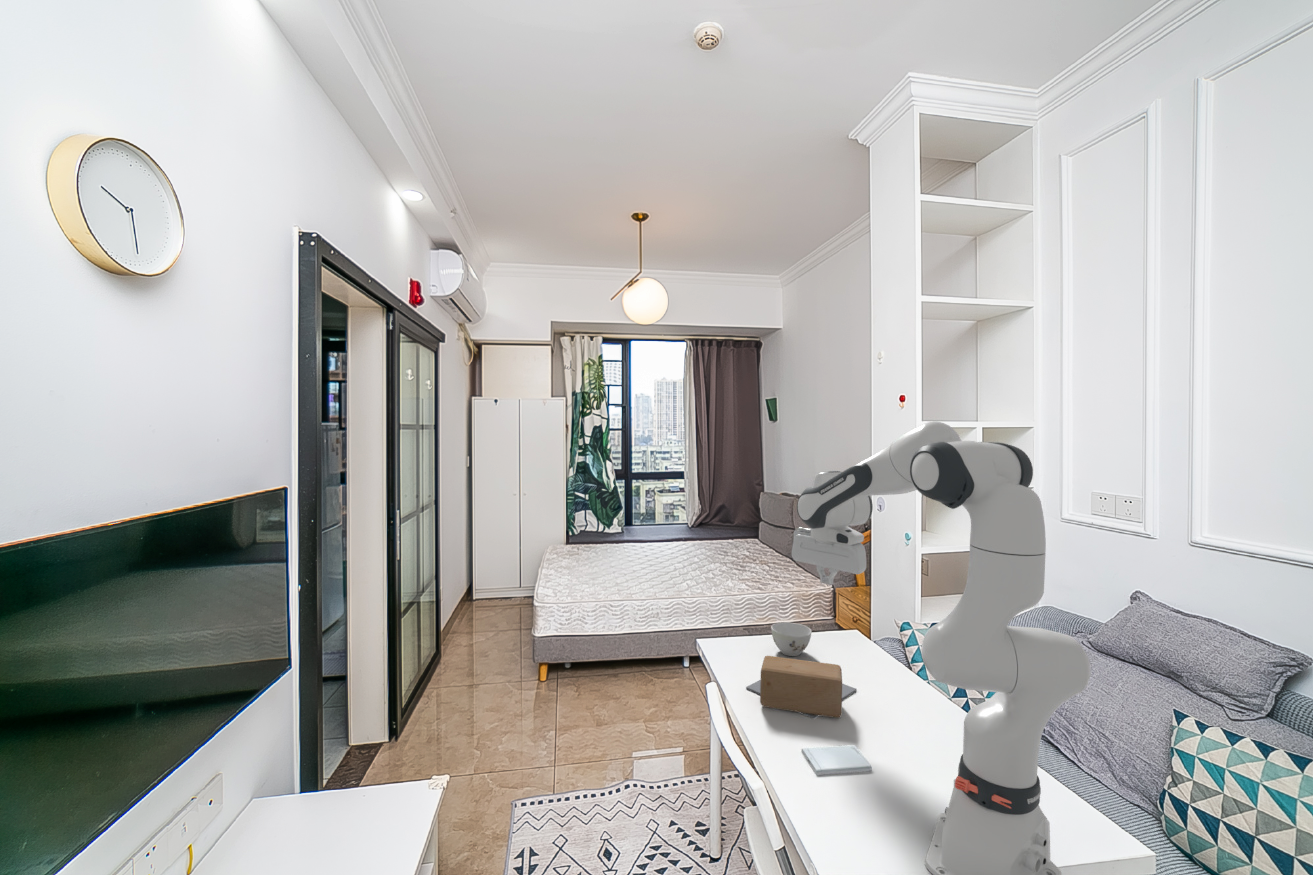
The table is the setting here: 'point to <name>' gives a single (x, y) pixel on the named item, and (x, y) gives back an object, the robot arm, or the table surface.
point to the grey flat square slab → (845, 693)
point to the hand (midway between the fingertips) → (826, 583)
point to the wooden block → (801, 686)
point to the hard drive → (836, 759)
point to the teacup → (791, 637)
